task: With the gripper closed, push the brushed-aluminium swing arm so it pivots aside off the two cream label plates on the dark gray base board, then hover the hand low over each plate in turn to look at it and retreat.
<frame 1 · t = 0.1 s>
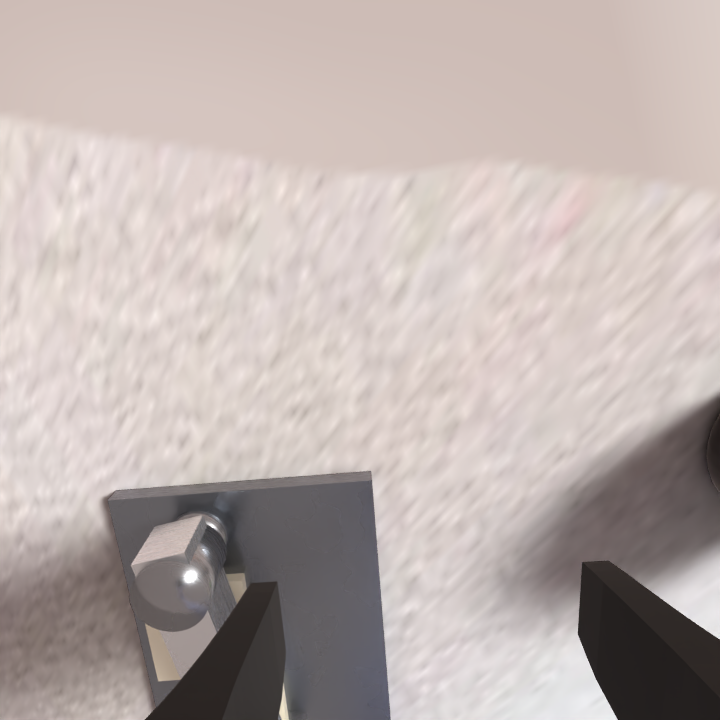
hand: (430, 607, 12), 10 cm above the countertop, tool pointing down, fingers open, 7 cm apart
swing arm: (224, 677, 21), point 3 cm above the countertop, hinge at 0.0°
label plate 1: (206, 610, 24), resting on dark gray base board
dark gray base board: (269, 650, 25), on the countertop
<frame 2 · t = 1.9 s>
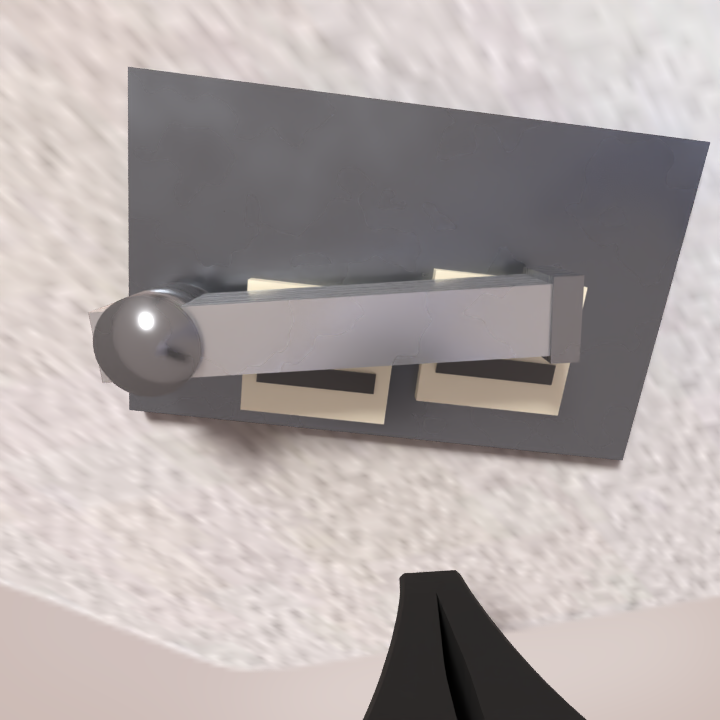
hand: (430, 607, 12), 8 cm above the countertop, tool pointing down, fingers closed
swing arm: (338, 325, 15), point 3 cm above the countertop, hinge at 0.0°
label plate 1: (320, 345, 19), resting on dark gray base board
label plate 2: (489, 336, 19), resting on dark gray base board
dark gray base board: (399, 281, 18), on the countertop
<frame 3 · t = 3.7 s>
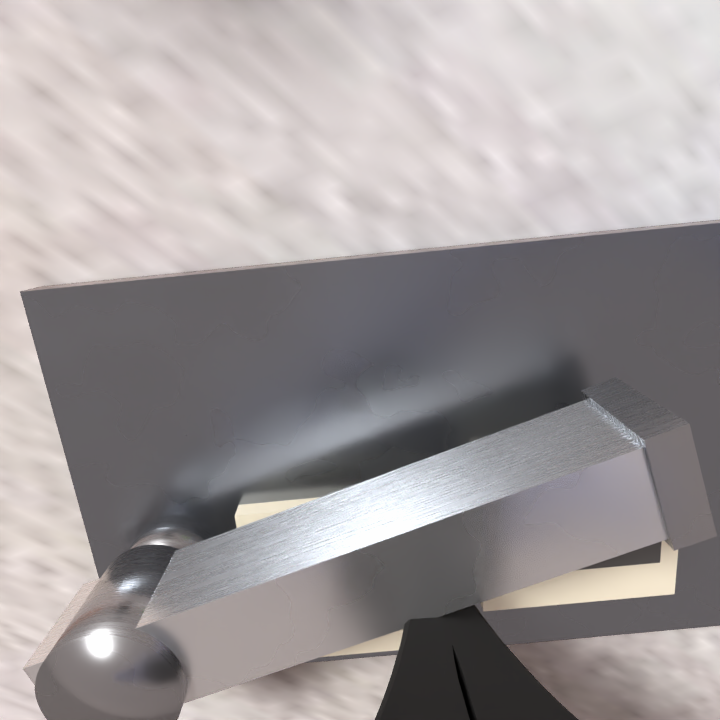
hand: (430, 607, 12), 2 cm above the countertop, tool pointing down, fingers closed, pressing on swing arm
swing arm: (355, 561, 11), point 3 cm above the countertop, hinge at 6.5°, touching gripper
label plate 1: (346, 551, 15), resting on dark gray base board
label plate 2: (560, 500, 14), resting on dark gray base board
dark gray base board: (429, 459, 14), on the countertop
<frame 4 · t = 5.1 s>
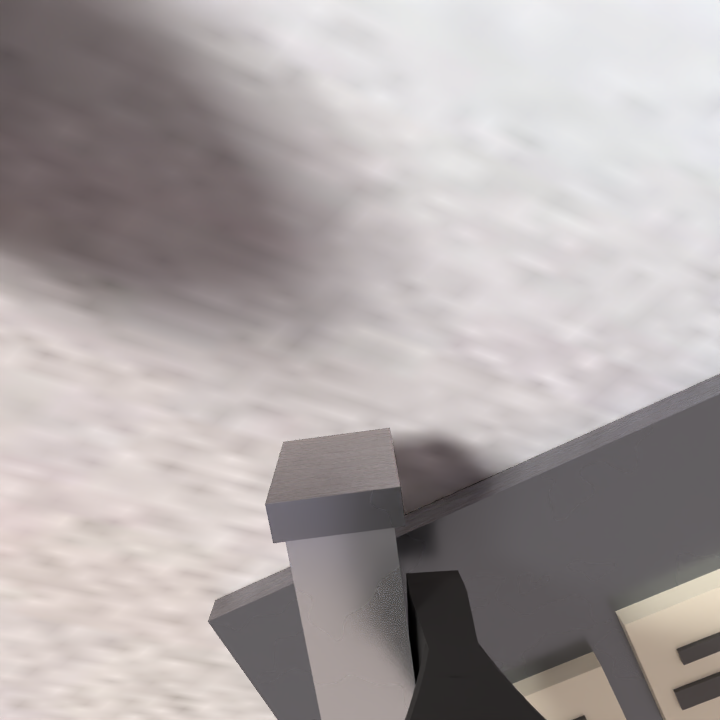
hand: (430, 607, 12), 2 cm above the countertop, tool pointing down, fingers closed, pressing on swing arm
label plate 1: (530, 712, 16), resting on dark gray base board
label plate 2: (707, 615, 15), resting on dark gray base board
dark gray base board: (576, 620, 15), on the countertop
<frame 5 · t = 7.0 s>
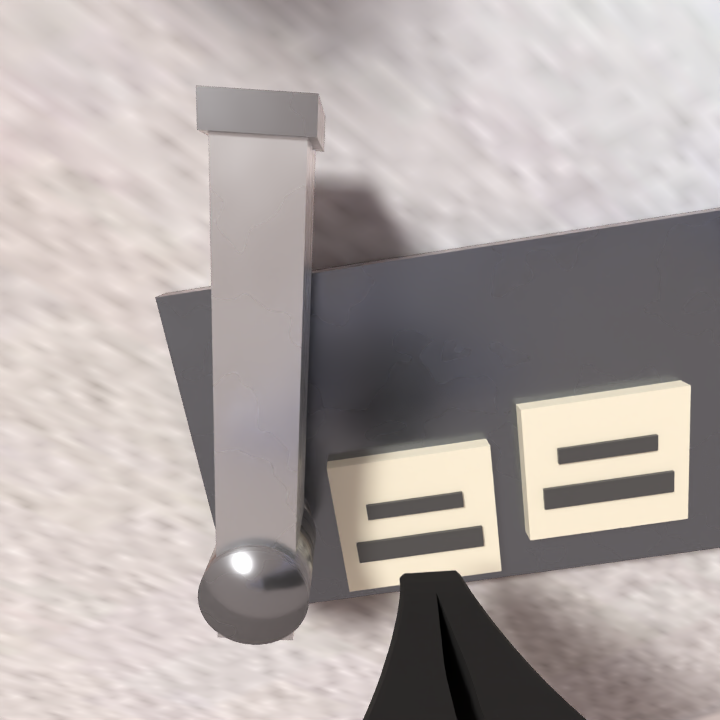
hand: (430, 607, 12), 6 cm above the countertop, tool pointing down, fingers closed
swing arm: (264, 389, 13), point 3 cm above the countertop, hinge at 68.0°
label plate 1: (412, 499, 18), resting on dark gray base board
label plate 2: (588, 447, 17), resting on dark gray base board
dark gray base board: (479, 418, 17), on the countertop
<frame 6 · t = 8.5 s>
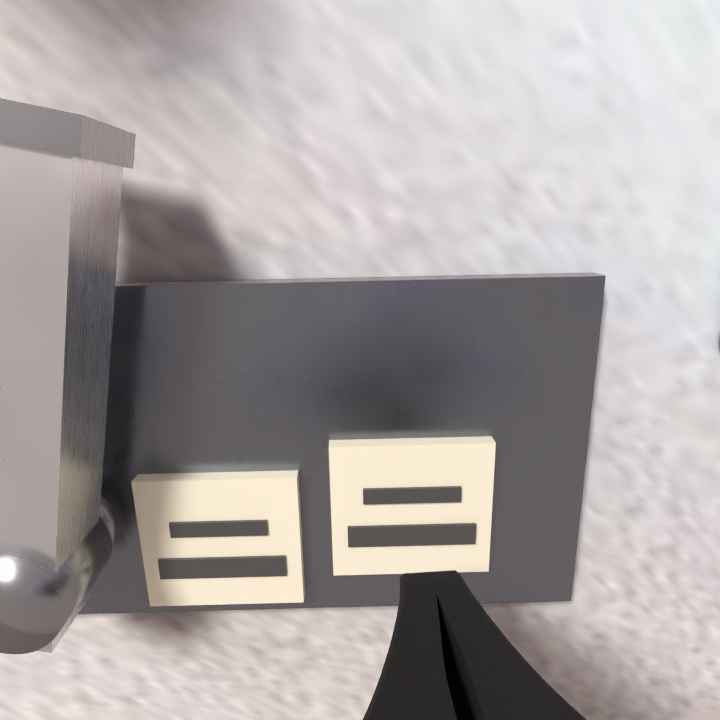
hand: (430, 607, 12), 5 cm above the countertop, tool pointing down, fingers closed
swing arm: (44, 398, 13), point 3 cm above the countertop, hinge at 68.0°
label plate 1: (230, 521, 18), resting on dark gray base board
label plate 2: (407, 490, 17), resting on dark gray base board
dark gray base board: (300, 448, 17), on the countertop
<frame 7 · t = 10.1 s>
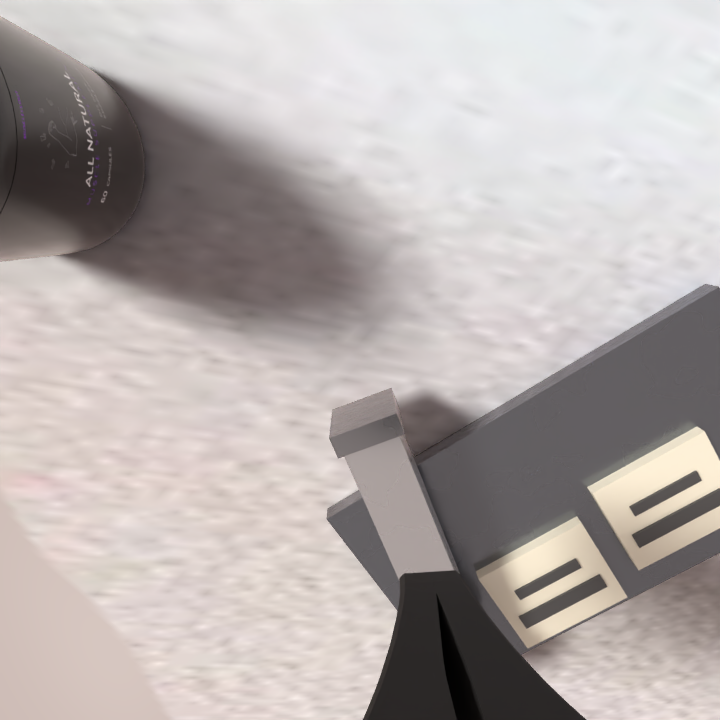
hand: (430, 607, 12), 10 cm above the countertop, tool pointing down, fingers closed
swing arm: (424, 561, 20), point 3 cm above the countertop, hinge at 68.0°
label plate 1: (543, 568, 24), resting on dark gray base board
label plate 2: (653, 487, 23), resting on dark gray base board
supplement bottle: (59, 156, 19), on the countertop
dark gray base board: (565, 500, 23), on the countertop
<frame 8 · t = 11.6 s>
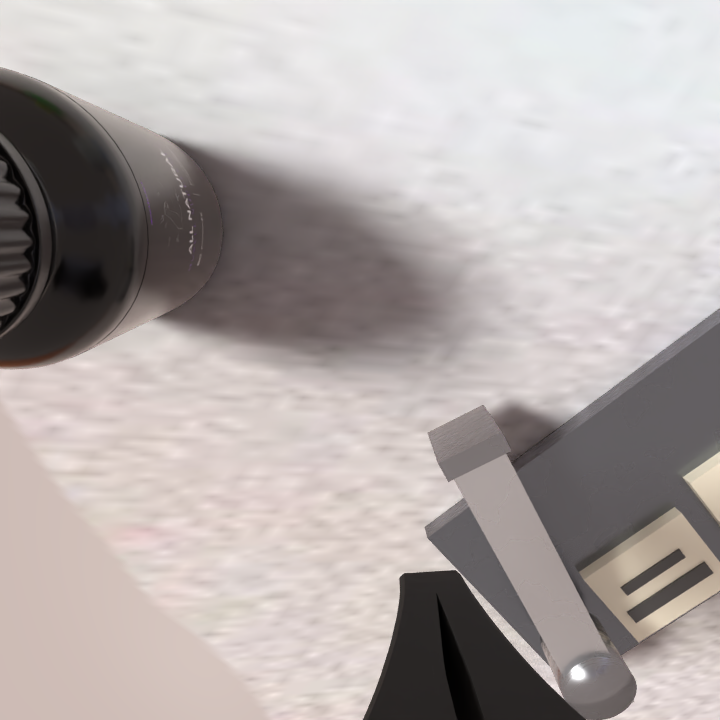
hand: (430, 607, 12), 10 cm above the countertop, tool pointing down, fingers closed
swing arm: (535, 570, 21), point 3 cm above the countertop, hinge at 68.0°
label plate 1: (643, 561, 24), resting on dark gray base board
supplement bottle: (138, 222, 20), on the countertop
dark gray base board: (659, 491, 23), on the countertop
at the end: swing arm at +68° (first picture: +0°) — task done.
